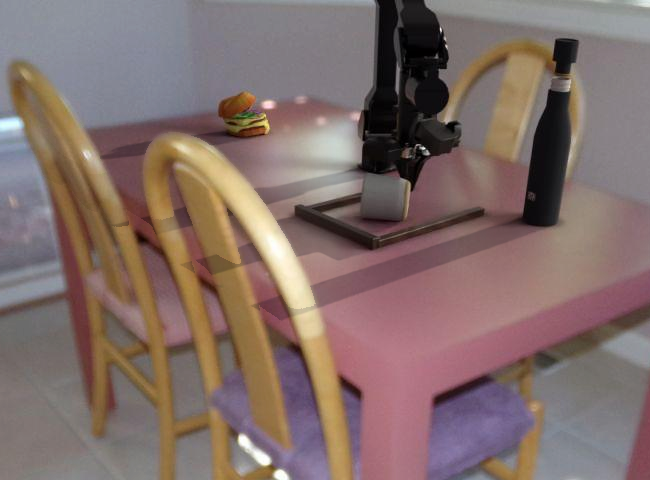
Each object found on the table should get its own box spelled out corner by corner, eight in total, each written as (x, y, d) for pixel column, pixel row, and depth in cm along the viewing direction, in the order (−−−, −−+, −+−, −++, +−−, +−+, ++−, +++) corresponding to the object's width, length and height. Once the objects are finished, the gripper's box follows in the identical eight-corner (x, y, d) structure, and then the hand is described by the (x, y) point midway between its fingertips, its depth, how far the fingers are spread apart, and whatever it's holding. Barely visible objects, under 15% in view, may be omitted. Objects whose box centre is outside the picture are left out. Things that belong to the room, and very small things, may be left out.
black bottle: (560, 217, 145) (590, 39, 129) (555, 228, 140) (585, 44, 124) (525, 212, 146) (550, 35, 131) (518, 222, 141) (544, 40, 126)
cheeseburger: (267, 138, 181) (255, 94, 176) (223, 148, 182) (209, 104, 177) (273, 127, 190) (262, 84, 185) (230, 136, 191) (217, 93, 186)
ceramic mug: (406, 227, 137) (409, 183, 133) (359, 223, 137) (360, 179, 133) (410, 208, 146) (412, 166, 142) (365, 205, 146) (367, 162, 142)
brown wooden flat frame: (405, 186, 156) (406, 177, 155) (484, 214, 144) (485, 205, 143) (294, 215, 139) (294, 205, 138) (372, 249, 127) (373, 239, 126)
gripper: (409, 118, 124) (403, 214, 132) (487, 103, 135) (477, 193, 144) (361, 104, 131) (358, 196, 139) (439, 91, 142) (432, 178, 150)
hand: (409, 191), depth 143 cm, fingers closed
